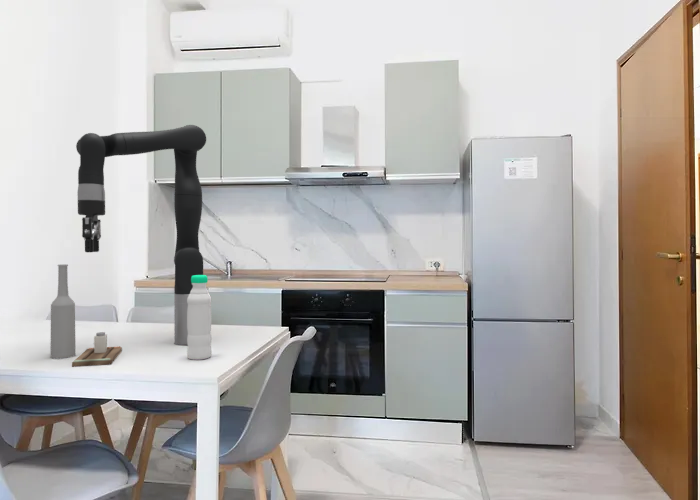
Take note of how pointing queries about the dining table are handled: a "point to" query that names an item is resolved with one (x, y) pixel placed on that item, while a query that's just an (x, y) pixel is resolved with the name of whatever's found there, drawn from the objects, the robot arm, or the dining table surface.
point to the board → (97, 357)
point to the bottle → (62, 319)
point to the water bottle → (199, 319)
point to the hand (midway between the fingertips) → (92, 252)
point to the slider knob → (100, 342)
